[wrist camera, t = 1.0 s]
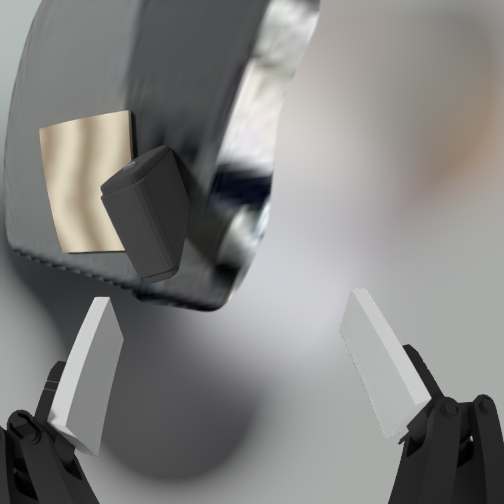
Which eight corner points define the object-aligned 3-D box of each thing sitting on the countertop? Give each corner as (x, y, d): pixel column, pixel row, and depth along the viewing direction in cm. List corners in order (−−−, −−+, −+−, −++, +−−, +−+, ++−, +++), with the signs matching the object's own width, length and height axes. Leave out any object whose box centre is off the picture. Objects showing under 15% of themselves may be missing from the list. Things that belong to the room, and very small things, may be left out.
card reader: (139, 150, 31) (87, 189, 18) (170, 139, 30) (134, 169, 18) (164, 217, 35) (137, 288, 22) (194, 207, 35) (181, 277, 22)
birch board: (130, 110, 28) (128, 110, 27) (144, 245, 37) (142, 249, 36) (43, 127, 26) (39, 129, 26) (65, 249, 35) (62, 252, 35)
